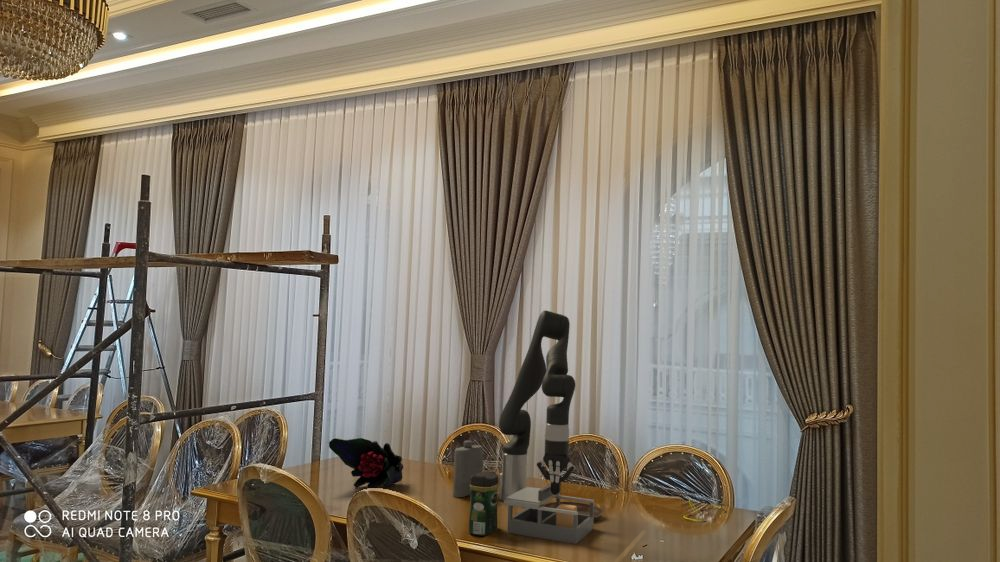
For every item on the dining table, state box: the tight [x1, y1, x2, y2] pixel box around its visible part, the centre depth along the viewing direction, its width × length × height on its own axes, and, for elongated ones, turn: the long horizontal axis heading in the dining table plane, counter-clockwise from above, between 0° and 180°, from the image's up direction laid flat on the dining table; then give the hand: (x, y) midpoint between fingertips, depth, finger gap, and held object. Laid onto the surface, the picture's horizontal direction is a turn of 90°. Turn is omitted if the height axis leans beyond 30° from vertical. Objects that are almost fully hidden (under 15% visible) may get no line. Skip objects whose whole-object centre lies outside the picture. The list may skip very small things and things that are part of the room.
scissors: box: [683, 498, 721, 522], centre depth 248 cm, size 25×10×5 cm, turn 140°
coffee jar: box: [468, 470, 500, 537], centre depth 216 cm, size 10×8×19 cm
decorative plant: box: [328, 437, 404, 489], centre depth 269 cm, size 21×26×30 cm
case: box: [507, 494, 595, 545], centre depth 217 cm, size 22×18×10 cm
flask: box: [452, 440, 484, 498], centre depth 266 cm, size 15×6×20 cm, turn 146°
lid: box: [503, 483, 561, 509], centre depth 220 cm, size 11×20×5 cm, turn 156°
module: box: [556, 504, 577, 528], centre depth 215 cm, size 5×5×8 cm
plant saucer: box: [542, 501, 604, 522], centre depth 237 cm, size 21×21×3 cm
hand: (555, 494), depth 217 cm, fingers closed
